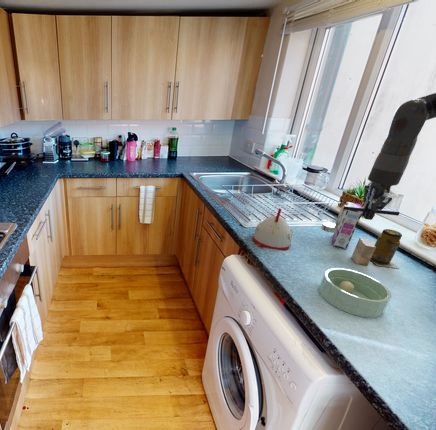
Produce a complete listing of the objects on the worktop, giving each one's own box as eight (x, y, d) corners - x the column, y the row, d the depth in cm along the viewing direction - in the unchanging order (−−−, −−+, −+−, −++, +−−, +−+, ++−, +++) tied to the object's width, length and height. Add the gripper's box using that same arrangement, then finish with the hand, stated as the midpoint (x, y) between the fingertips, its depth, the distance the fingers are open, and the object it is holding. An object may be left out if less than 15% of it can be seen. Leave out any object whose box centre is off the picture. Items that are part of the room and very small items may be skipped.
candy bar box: (347, 249, 115) (363, 212, 108) (332, 245, 117) (346, 209, 110) (346, 238, 123) (361, 203, 116) (332, 235, 126) (346, 200, 119)
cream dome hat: (249, 244, 117) (258, 210, 111) (255, 231, 128) (263, 200, 121) (287, 254, 110) (299, 220, 104) (290, 240, 121) (301, 207, 114)
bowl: (369, 291, 91) (377, 274, 89) (392, 326, 78) (402, 307, 75) (312, 279, 96) (319, 263, 94) (325, 310, 83) (333, 293, 80)
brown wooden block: (360, 258, 109) (369, 239, 105) (366, 267, 104) (376, 247, 100) (351, 257, 110) (359, 238, 106) (356, 265, 105) (365, 245, 101)
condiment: (383, 256, 111) (397, 228, 106) (399, 268, 103) (414, 239, 98) (362, 254, 112) (375, 226, 107) (376, 266, 104) (390, 237, 99)
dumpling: (343, 280, 92) (350, 278, 88) (351, 290, 90) (359, 288, 87) (334, 285, 91) (341, 283, 88) (342, 296, 90) (350, 293, 86)
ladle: (323, 231, 101) (331, 206, 97) (319, 226, 105) (327, 201, 101) (390, 240, 95) (402, 214, 91) (384, 234, 99) (395, 209, 95)
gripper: (415, 175, 82) (389, 228, 90) (392, 164, 94) (371, 211, 101) (384, 172, 85) (361, 224, 92) (365, 161, 96) (346, 208, 104)
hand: (366, 217), depth 97 cm, fingers closed on ladle, 1 cm apart
